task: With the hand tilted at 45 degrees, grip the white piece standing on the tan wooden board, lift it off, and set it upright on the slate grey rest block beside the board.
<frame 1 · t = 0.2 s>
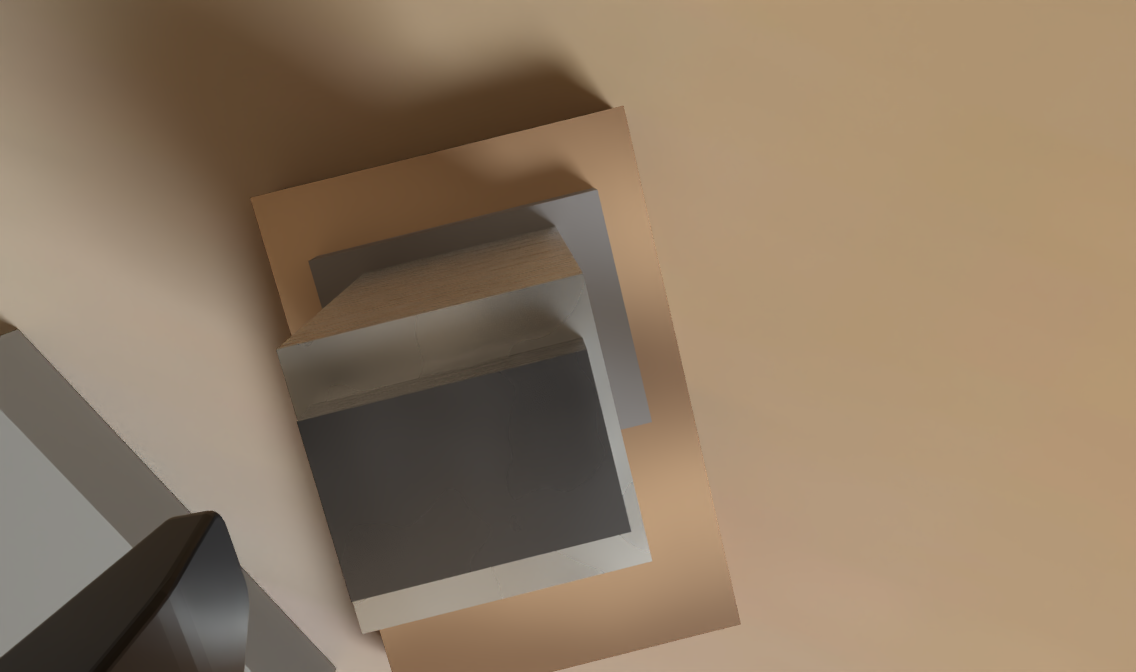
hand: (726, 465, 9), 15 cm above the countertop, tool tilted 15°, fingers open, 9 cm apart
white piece: (484, 343, 21), point 3 cm above the countertop, touching tan wooden board
tan wooden board: (508, 399, 25), on the countertop
rest block: (11, 644, 25), on the countertop
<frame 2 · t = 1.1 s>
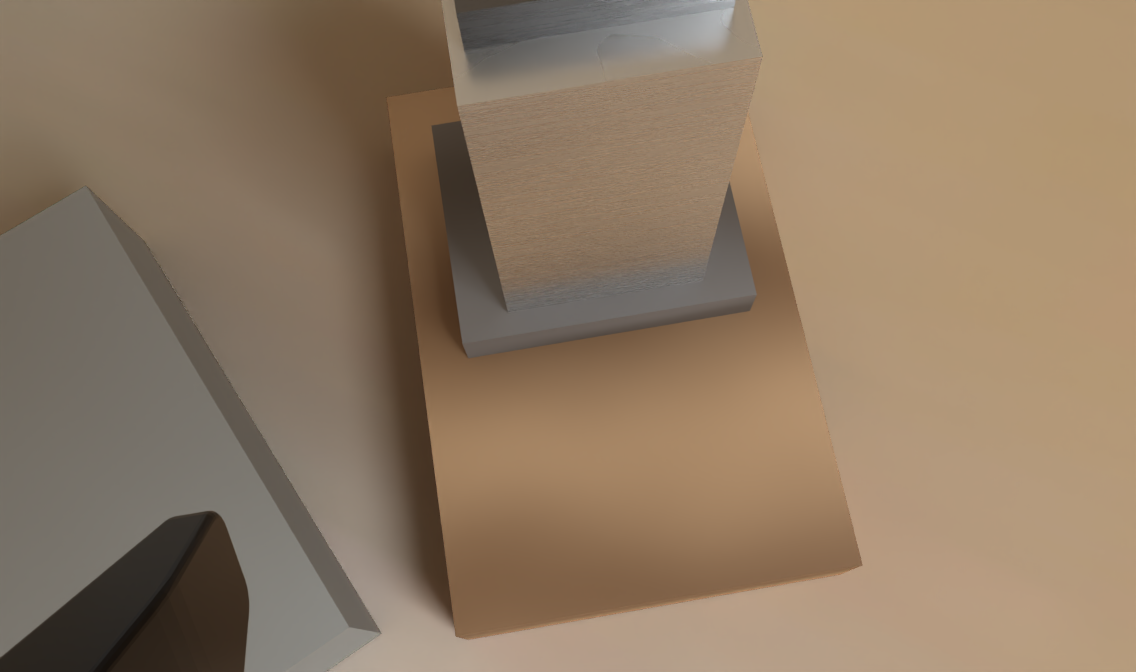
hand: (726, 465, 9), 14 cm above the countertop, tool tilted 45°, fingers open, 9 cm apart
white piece: (588, 207, 22), point 3 cm above the countertop, touching tan wooden board
tan wooden board: (604, 341, 24), on the countertop
rest block: (35, 566, 23), on the countertop
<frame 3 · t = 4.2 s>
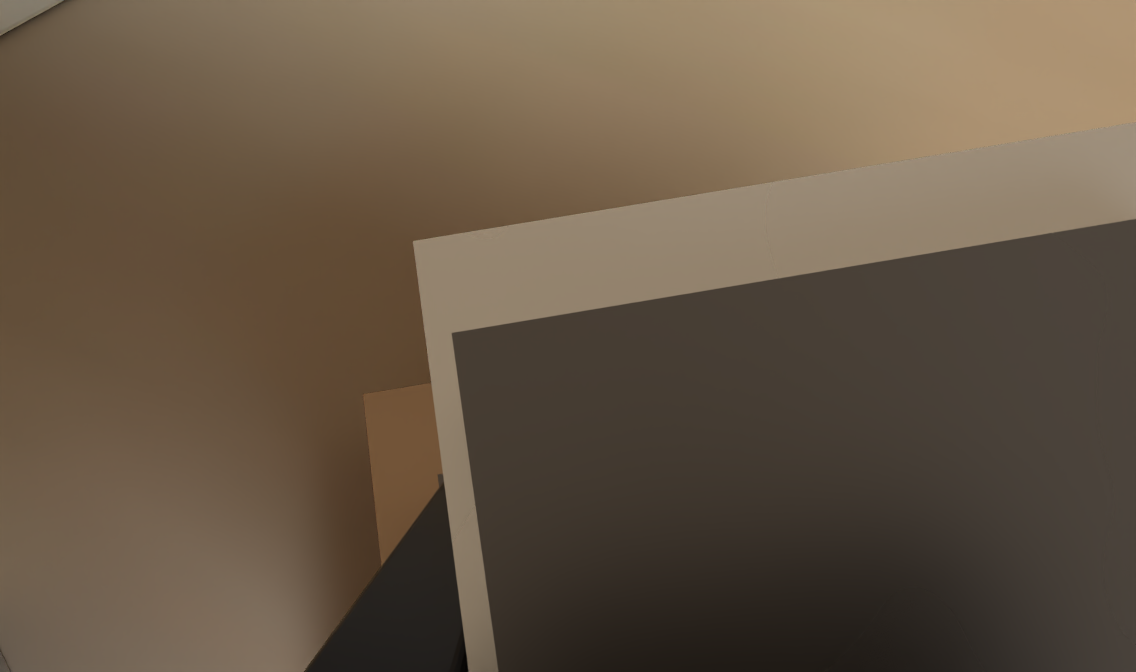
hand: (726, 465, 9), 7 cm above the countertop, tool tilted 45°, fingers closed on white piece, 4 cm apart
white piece: (716, 639, 12), point 3 cm above the countertop, touching gripper, tan wooden board
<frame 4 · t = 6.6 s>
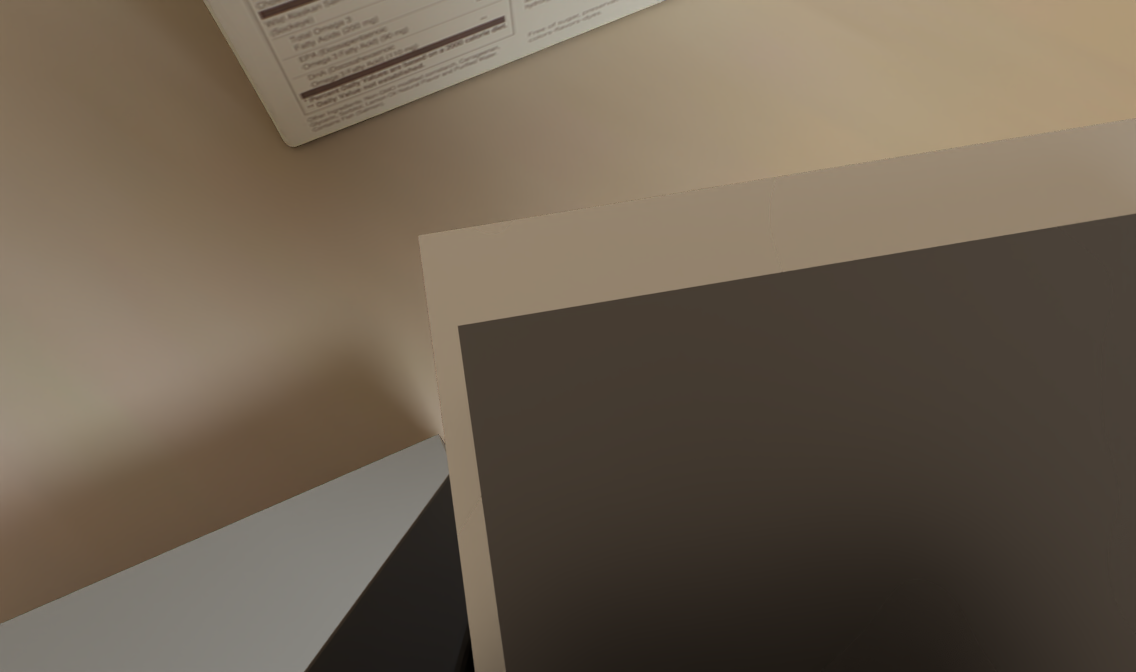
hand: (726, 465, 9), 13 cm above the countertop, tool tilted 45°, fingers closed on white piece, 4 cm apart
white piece: (717, 636, 12), point 10 cm above the countertop, touching gripper
when the fingers open (7 cm above the countertop, at t = 9.0 s): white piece stays where it is, resting on rest block.
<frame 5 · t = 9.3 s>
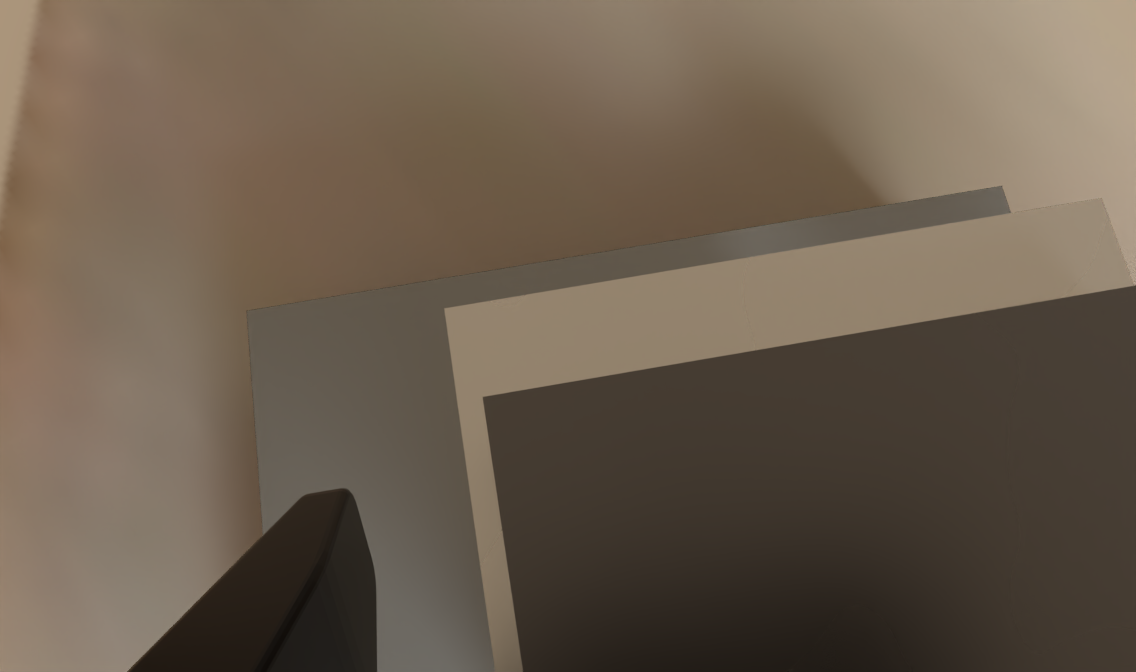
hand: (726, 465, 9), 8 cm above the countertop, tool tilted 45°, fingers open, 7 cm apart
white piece: (709, 641, 13), point 3 cm above the countertop, touching rest block
rest block: (687, 648, 16), on the countertop
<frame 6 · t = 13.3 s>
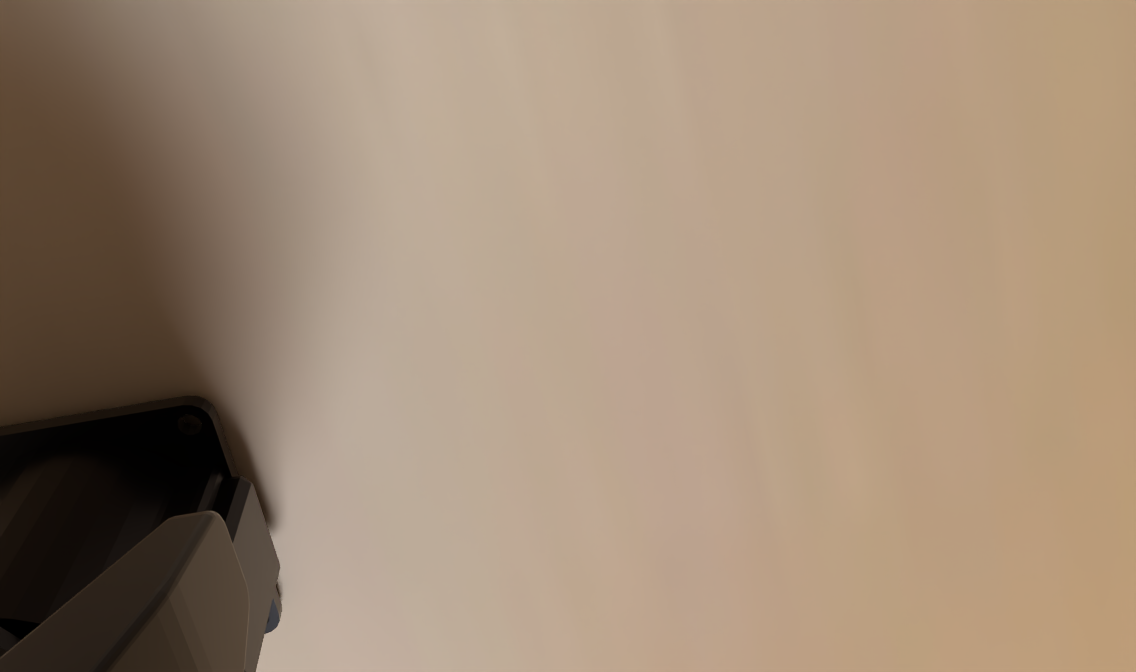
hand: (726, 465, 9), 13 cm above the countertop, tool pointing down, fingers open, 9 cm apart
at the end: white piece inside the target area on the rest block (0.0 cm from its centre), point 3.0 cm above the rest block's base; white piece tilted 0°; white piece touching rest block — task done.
